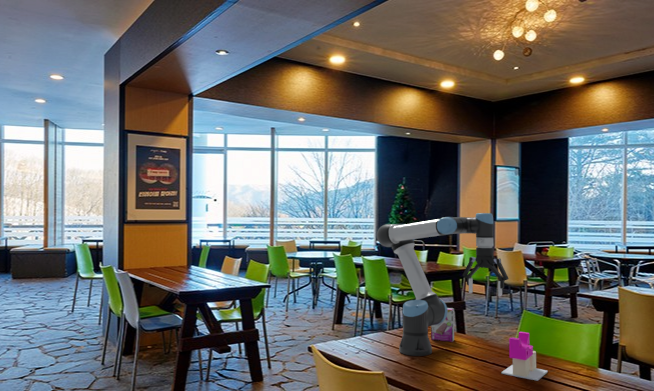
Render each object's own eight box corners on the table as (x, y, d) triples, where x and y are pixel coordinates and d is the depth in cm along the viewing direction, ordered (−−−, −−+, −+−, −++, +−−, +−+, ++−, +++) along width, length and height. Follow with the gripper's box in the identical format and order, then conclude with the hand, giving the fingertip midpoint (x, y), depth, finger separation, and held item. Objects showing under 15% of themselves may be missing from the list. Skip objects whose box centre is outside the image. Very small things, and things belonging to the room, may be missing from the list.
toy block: (525, 360, 193) (525, 340, 193) (509, 357, 197) (509, 338, 197) (535, 352, 205) (535, 333, 205) (520, 349, 209) (520, 331, 209)
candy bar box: (430, 340, 256) (430, 308, 256) (433, 337, 260) (432, 306, 261) (452, 342, 251) (452, 309, 252) (454, 340, 256) (454, 308, 256)
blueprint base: (501, 373, 201) (501, 354, 201) (513, 365, 212) (512, 347, 212) (537, 380, 192) (537, 360, 192) (547, 372, 203) (547, 353, 203)
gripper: (455, 246, 229) (455, 292, 228) (509, 248, 213) (510, 298, 212) (462, 245, 235) (462, 290, 234) (515, 247, 219) (516, 296, 218)
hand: (485, 294), depth 223 cm, fingers open, 13 cm apart
